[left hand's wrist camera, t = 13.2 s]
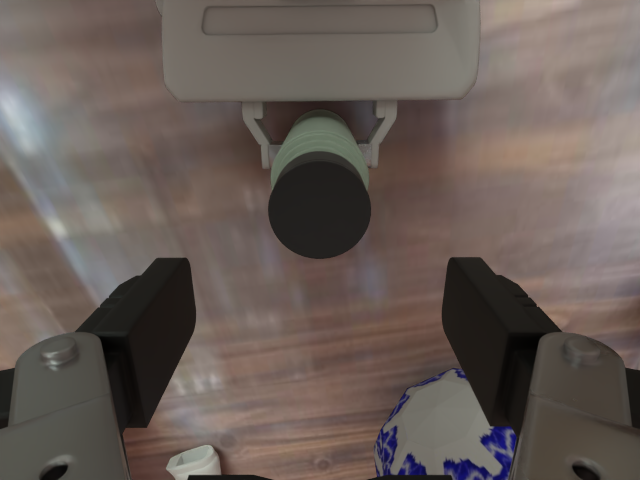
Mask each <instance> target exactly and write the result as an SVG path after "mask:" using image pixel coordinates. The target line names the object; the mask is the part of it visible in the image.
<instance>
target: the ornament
mask: <svg viewBox="0 0 640 480" xmlns="http://www.w3.org/2000/svg"><path fill="white" fill-rule="evenodd" d="M516 439H517V437H516V435H515V433H514V431H513V429H512V428H511V427H490V425H489V423H488V421H487V419H486V417H485V415H484V413H483V411H482V409H481V407H480V404H479V402H478V400H477V398H476V396H475V394H474V392H473V390H472V388H471V386H470V384H469V382H468V380H467V378H466V375H465V373H464V371H463V369H456V368H452V369H450V370H448V371H446V372H443V373H441V374H439V375H437V376H434V377H432V378H430V379H428V380H425V381H423V382H421V383H419V384H416V385H414V386H412V387H410V388H407V390H406V391H405V393H404V394H403V396H402V398H401V399H400V401H399V402H398V404H397V405H396V407H395V408H394V410H393V412H392V413H391V415H390V416H389V418H388V419H387V421H386V422H385V424H384V426H383V427H382V429H381V430H380V433H379V436H378V438H377V441H376V443H375V446H374V448H373V451H374V458H375V465H376V472H377V477H380V476H384V475H451V476H452V479H453V480H508V478H509V473H510V468H511V463H512V458H513V453H514V448H515V443H516Z"/></svg>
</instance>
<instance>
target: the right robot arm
mask: <svg viewBox="0 0 640 480" xmlns="http://www.w3.org/2000/svg"><path fill="white" fill-rule="evenodd" d="M155 3H156V6H157V9H158V11H159V13H160V15H161V16H162V62H163V75H164V82H165V86H166V88H167V90H168V91H169V92H170V93H171V94H172V95H173V96H174V98H175V99H176V100H177V101H179V102H241V103H242V116H243V121H244V122H245V124H246V125H247V127H248V129H249V130H250V132H251V133H252V135H253V136H254V138H255V139H256V141H257V142H258V144H259V145H261V157H262V168H263V169H272V165H273V162H274V160H275V157H276V156H277V154H278V152H279V150H280V148H281V146H282V144H283V143H284V141H273V140H272V139H271V137H270V135H269V134H268V132H267V130H266V129H265V127H264V125H263V124H262V122H261V120H260V119H262V118H264V117H265V116H266V115H267V111H266V102H271V101H373V115H374V116H376V117H377V118H379V120H378V121H377V123H376V125H375V127H374V128H373V130H372V132H371V134H370V135H369V137H368V139H367V140H356V143H357V145H358V147H359V149H360V151H361V152H362V154H363V156H364V158H365V161H366V163H367V167H368V168H377V167H378V155H379V144H381V142H382V141H383V139H384V138H385V136H386V134H387V133H388V131H389V130H390V128H391V126H392V125H393V123H394V122H395V120H396V118H397V102H398V100H460V99H462V98H464V97H465V96H466V95H467V93H468V92H469V91H470V90H471V89H472V87H473V86H474V85H475V82H476V79H477V73H478V64H479V51H480V0H155Z"/></svg>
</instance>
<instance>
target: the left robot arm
mask: <svg viewBox="0 0 640 480" xmlns="http://www.w3.org/2000/svg"><path fill="white" fill-rule="evenodd" d="M195 323H196V307H195V299H194V291H193V283H192V275H191V268H190V263H189V261H188V259H187V258H157V259H155V261H154V262H153V263H152V264H151V265H150V266H149V267H148V268H147V270H146V271H145V272H144V273H143V274H142V275H141V276H135V277H133V278H131V279H129V280H128V281H126V282H124V283H122V284H120V285H119V286H118V287H117V288H116V289H115V290H114V291H113V292H112V293H111V294H110V296H109V298H107V299H106V300H105V301H104V302H103V303H102V304H101V305H100V308H97V309H96V310H95V311H94V312H93V313H92V314H91V316H90V317H89V318H88V319H87V320H86V321H85V322H84V323H83V324H82V325H81V326H80V327H79V328H78V329H77V330H76V331H75V332H72V333H66V334H61V335H57V336H54V337H51V338H48V339H46V340H43V341H41V342H39V343H37V344H35V345H34V346H32V347H31V348H29V349H28V350H26V351H25V352H24V353H23V354H22V355H21V356H20V357H19V358H18V360H17V362H16V365H15V368H12V369H7V370H2V371H0V480H132V478H131V473H130V468H129V463H128V458H127V453H126V448H125V443H124V439H123V435H122V433H123V432H124V430H125V428H147V426H148V424H149V422H150V420H151V418H152V416H153V414H154V412H155V410H156V408H157V406H158V404H159V402H160V400H161V397H162V395H163V393H164V391H165V389H166V387H167V385H168V383H169V381H170V379H171V377H172V375H173V373H174V371H175V369H176V367H177V365H178V363H179V361H180V359H181V357H182V355H183V353H184V351H185V349H186V346H187V344H188V342H189V340H190V338H191V336H192V334H193V332H194V328H195ZM442 324H443V329H444V332H445V334H446V336H447V338H448V340H449V342H450V344H451V347H452V349H453V351H454V353H455V355H456V357H457V359H458V361H459V363H460V365H461V367H462V369H463V371H464V373H465V375H466V378H467V380H468V382H469V384H470V386H471V388H472V390H473V392H474V394H475V396H476V398H477V400H478V402H479V404H480V407H481V409H482V411H483V413H484V415H485V417H486V419H487V421H488V423H489V425H490V427H511V428H512V429H513V431H514V433H515V435H516V437H517V439H516V443H515V448H514V453H513V458H512V463H511V468H510V473H509V478H508V480H640V370H635V369H629V368H625V365H624V362H623V360H622V358H621V357H620V356H619V355H618V354H617V353H616V352H615V351H614V350H612V349H611V348H609V347H608V346H606V345H605V344H603V343H601V342H599V341H597V340H594V339H592V338H589V337H586V336H583V335H579V334H574V333H568V332H562V331H561V330H560V329H559V328H558V327H557V326H556V325H555V323H554V322H553V321H552V320H551V319H550V318H549V317H548V316H547V315H546V314H545V313H544V312H543V311H542V310H541V309H540V308H539V307H537V304H536V303H535V302H534V301H533V300H532V299H531V298H528V295H527V294H526V293H525V292H524V290H523V289H522V288H521V287H520V286H519V285H518V284H516V283H514V282H513V281H511V280H509V279H507V278H505V277H504V276H502V275H496V274H495V273H494V272H493V271H492V270H491V269H490V267H489V266H488V265H487V264H486V263H485V262H484V261H483V259H482V258H480V257H452V258H450V260H449V262H448V266H447V273H446V281H445V289H444V297H443V305H442ZM187 480H272V479H268V478H264V477H260V476H256V475H189V476H188V479H187ZM368 480H453V479H452V476H451V475H384V476H380V477H376V478H372V479H368Z"/></svg>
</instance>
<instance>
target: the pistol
mask: <svg viewBox="0 0 640 480" xmlns="http://www.w3.org/2000/svg"><path fill="white" fill-rule="evenodd" d="M166 470H167V471H169V472H170V473H171V474H172V475H173V476H174V478H175V479H176V480H187V479H188V476H189V475H221V468H220V460H219V456H218V453H217V452H216V451H215V450H214V448H213V447H212V446H210V445H204V446H201V447H197V448H194V449H191V450H188V451H185V452H183V453H180V454H178V455H176V456H173V457H172V458H171V459H170V460H169V463H168V465H167V467H166Z"/></svg>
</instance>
